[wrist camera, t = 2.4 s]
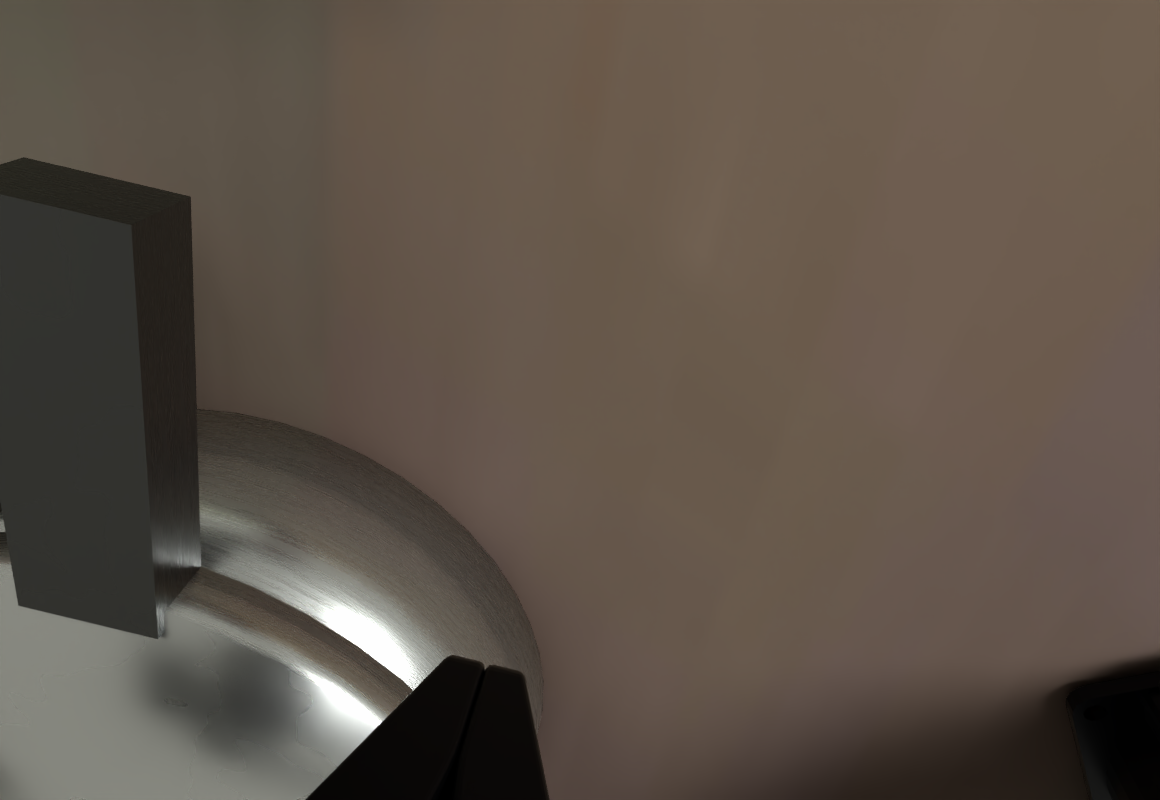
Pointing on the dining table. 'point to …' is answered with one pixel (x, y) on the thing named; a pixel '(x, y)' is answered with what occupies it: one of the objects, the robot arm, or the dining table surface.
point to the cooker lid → (135, 533)
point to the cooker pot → (354, 550)
